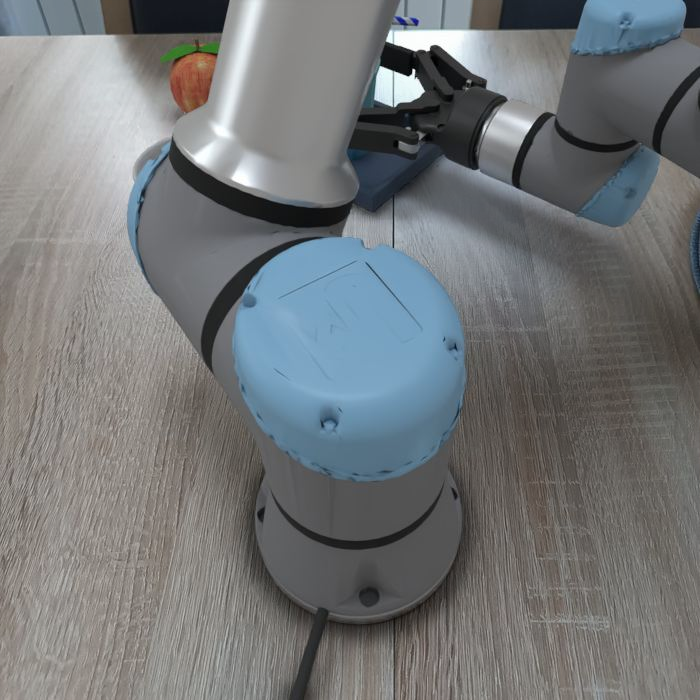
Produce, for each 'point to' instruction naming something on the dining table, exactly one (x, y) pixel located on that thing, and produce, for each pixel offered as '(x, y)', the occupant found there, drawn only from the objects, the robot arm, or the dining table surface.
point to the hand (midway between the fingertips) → (329, 70)
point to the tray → (388, 171)
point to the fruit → (192, 73)
